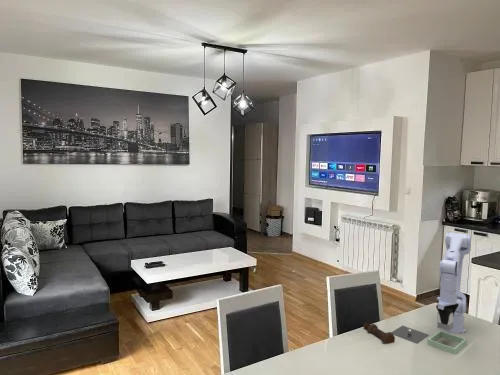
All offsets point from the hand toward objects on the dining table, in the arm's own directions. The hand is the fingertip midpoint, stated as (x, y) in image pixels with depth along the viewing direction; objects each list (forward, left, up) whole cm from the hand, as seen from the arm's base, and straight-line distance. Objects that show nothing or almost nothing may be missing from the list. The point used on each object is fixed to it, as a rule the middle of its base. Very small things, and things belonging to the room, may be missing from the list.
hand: (446, 322), depth 148 cm
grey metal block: (0, 0, -2) cm, 3 cm away
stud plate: (+3, -13, -10) cm, 17 cm away
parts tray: (0, +1, -10) cm, 10 cm away
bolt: (+14, -22, -11) cm, 28 cm away
